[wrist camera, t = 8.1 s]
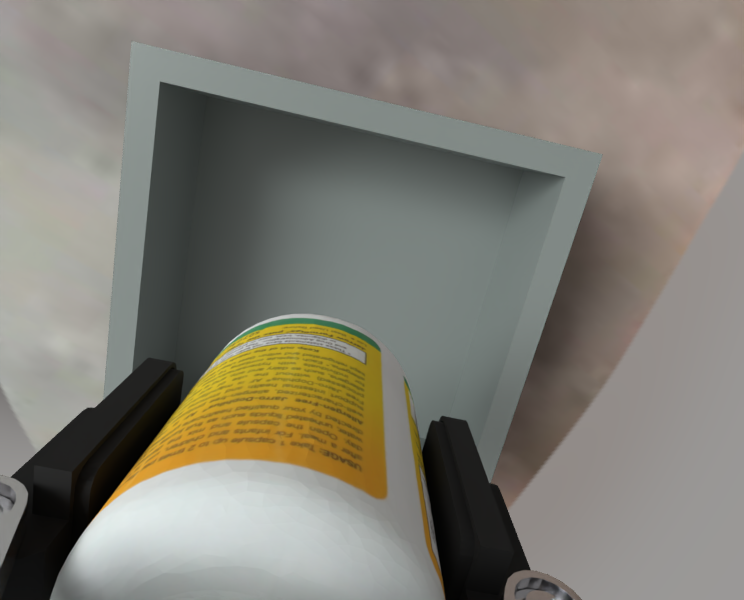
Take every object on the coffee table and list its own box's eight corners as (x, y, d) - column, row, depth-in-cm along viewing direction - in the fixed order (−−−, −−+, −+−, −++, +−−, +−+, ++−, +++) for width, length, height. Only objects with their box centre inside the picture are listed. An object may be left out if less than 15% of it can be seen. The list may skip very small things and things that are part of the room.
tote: (193, 68, 22) (131, 40, 16) (544, 152, 23) (602, 154, 17) (157, 393, 27) (98, 462, 21) (452, 451, 28) (474, 530, 22)
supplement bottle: (450, 422, 13) (627, 1009, 4) (294, 522, 14) (161, 1186, 5) (326, 263, 12) (196, 611, 3) (163, 384, 13) (-320, 934, 4)
